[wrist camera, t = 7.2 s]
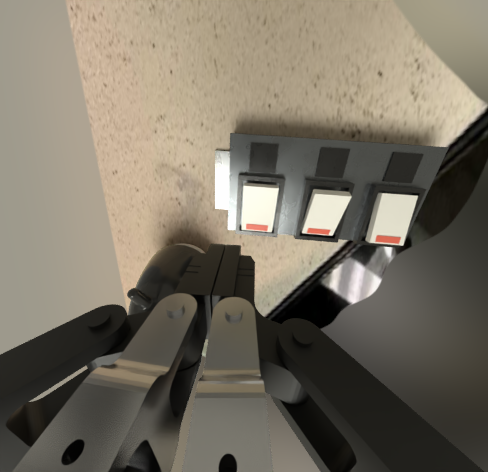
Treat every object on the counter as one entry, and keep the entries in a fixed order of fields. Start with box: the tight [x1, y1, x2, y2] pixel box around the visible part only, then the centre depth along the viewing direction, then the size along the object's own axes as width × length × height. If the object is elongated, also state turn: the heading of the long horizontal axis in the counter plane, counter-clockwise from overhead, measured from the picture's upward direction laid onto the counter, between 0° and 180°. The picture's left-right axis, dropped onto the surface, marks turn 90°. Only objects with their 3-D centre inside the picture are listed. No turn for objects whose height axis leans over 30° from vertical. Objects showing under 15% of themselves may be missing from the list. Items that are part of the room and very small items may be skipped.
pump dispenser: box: [127, 243, 205, 315], centre depth 27 cm, size 10×10×15 cm
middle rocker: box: [301, 189, 352, 236], centre depth 24 cm, size 6×4×1 cm, turn 176°
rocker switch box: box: [215, 133, 449, 248], centre depth 25 cm, size 12×29×5 cm, turn 86°
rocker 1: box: [241, 183, 279, 232], centre depth 24 cm, size 6×4×1 cm, turn 176°
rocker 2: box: [365, 193, 418, 246], centre depth 23 cm, size 6×4×1 cm, turn 177°
